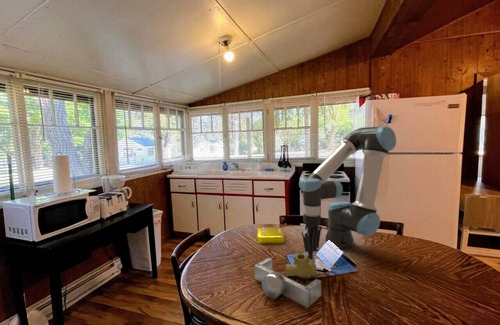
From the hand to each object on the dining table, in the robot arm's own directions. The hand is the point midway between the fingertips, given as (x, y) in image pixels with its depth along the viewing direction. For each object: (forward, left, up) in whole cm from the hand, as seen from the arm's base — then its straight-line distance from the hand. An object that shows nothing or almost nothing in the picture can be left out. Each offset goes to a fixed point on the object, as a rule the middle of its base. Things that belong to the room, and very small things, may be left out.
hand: (311, 265), depth 112 cm
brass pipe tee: (+7, -1, -2) cm, 7 cm away
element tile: (-13, -37, -2) cm, 39 cm away
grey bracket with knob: (+22, 0, -2) cm, 22 cm away
